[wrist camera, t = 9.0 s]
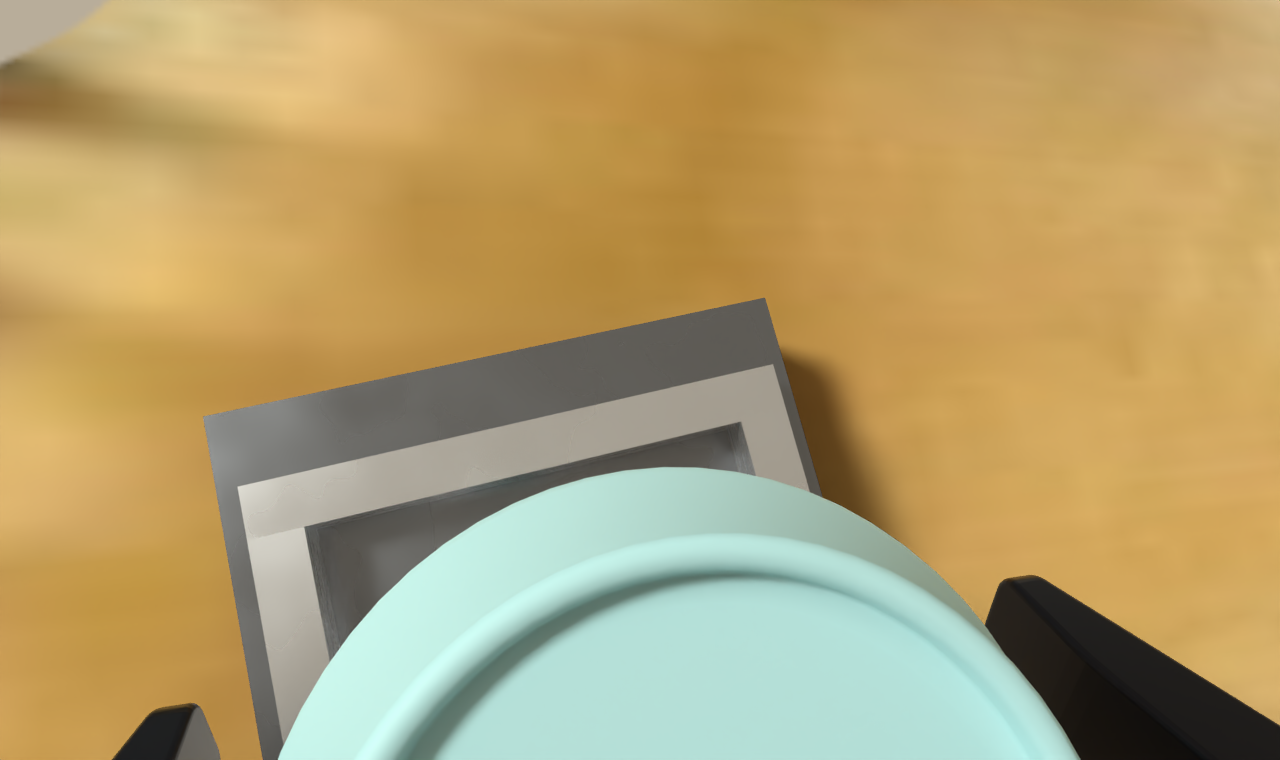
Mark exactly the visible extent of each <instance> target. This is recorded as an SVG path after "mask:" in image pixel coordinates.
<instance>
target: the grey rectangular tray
mask: <svg viewBox="0 0 1280 760" xmlns="http://www.w3.org/2000/svg"><path fill="white" fill-rule="evenodd" d="M203 418H204V424H205V430H206V435H207V441H208V447H209V453H210V458H211V464H212V470H213V476H214V481H215V487H216V493H217V499H218V504H219V510H220V516H221V522H222V527H223V533H224V539H225V545H226V550H227V556H228V562H229V568H230V573H231V579H232V585H233V591H234V596H235V602H236V608H237V614H238V619H239V625H240V631H241V637H242V642H243V648H244V654H245V660H246V665H247V671H248V677H249V683H250V688H251V694H252V700H253V706H254V711H255V717H256V723H257V729H258V734H259V740H260V746H261V752H262V757H263V760H278V758H279V755H280V752H281V750H282V748H283V746H284V744H285V742H286V740H287V738H288V735H289V733H290V731H291V729H292V727H293V725H294V723H295V721H296V719H297V717H298V714H299V712H300V710H301V708H302V707H303V705H304V703H305V702H306V700H307V698H308V697H309V695H310V693H311V692H312V690H313V688H314V686H315V685H316V683H317V681H318V680H319V678H320V676H321V675H322V673H323V671H324V670H325V668H326V667H327V665H328V664H329V663H330V661H331V660H332V659H333V657H334V656H335V654H336V653H337V652H338V650H339V649H340V647H341V646H342V645H343V643H344V642H345V640H346V639H347V638H348V636H349V635H350V634H351V632H352V631H353V630H354V629H355V628H356V627H357V625H358V624H359V623H360V622H361V621H362V620H363V619H364V617H365V616H366V615H367V614H368V613H369V612H370V611H371V609H372V608H373V607H374V606H375V605H376V604H377V602H378V601H379V600H380V599H381V598H382V597H383V596H384V595H385V594H386V593H388V592H389V591H390V590H391V589H392V588H393V587H394V586H395V585H396V584H397V583H398V582H399V581H400V580H401V579H402V578H403V577H404V576H405V575H406V574H407V573H408V572H409V571H411V570H412V569H413V568H414V567H416V566H417V565H418V564H419V563H421V562H422V561H423V560H424V559H426V558H427V557H428V556H429V555H431V554H432V553H433V552H435V551H436V550H437V549H438V548H440V547H441V546H442V545H443V544H445V543H446V542H448V541H449V540H451V539H453V538H454V537H456V536H457V535H459V534H460V533H462V532H463V531H465V530H466V529H468V528H469V527H471V526H473V525H474V524H476V523H477V522H479V521H481V520H483V519H485V518H486V517H488V516H490V515H492V514H494V513H496V512H498V511H500V510H502V509H504V508H506V507H508V506H509V505H511V504H513V503H516V502H518V501H521V500H523V499H526V498H528V497H530V496H533V495H535V494H538V493H540V492H543V491H545V490H548V489H550V488H554V487H557V486H561V485H564V484H567V483H571V482H574V481H578V480H581V479H584V478H588V477H593V476H598V475H604V474H609V473H614V472H619V471H625V470H636V469H647V468H658V467H691V468H707V469H716V470H725V471H734V472H739V473H744V474H749V475H753V476H758V477H763V478H767V479H772V480H775V481H778V482H781V483H784V484H787V485H790V486H794V487H797V488H800V489H803V490H806V491H808V492H811V493H813V494H815V495H818V496H820V497H822V493H821V490H820V486H819V483H818V479H817V476H816V473H815V469H814V466H813V462H812V459H811V455H810V452H809V448H808V445H807V441H806V438H805V435H804V431H803V428H802V424H801V421H800V417H799V414H798V410H797V407H796V404H795V400H794V397H793V393H792V390H791V386H790V383H789V379H788V376H787V372H786V369H785V366H784V362H783V359H782V355H781V352H780V348H779V345H778V341H777V338H776V335H775V331H774V328H773V324H772V321H771V317H770V314H769V310H768V307H767V303H766V300H765V298H761V299H757V300H752V301H747V302H742V303H738V304H733V305H728V306H724V307H719V308H714V309H709V310H705V311H700V312H695V313H690V314H686V315H681V316H676V317H672V318H667V319H662V320H657V321H653V322H648V323H643V324H639V325H634V326H629V327H624V328H620V329H615V330H610V331H605V332H601V333H596V334H591V335H587V336H582V337H577V338H572V339H568V340H563V341H558V342H553V343H549V344H544V345H539V346H535V347H530V348H525V349H520V350H516V351H511V352H506V353H502V354H497V355H492V356H487V357H483V358H478V359H473V360H468V361H464V362H459V363H454V364H450V365H445V366H440V367H435V368H431V369H426V370H421V371H416V372H412V373H407V374H402V375H398V376H393V377H388V378H383V379H379V380H374V381H369V382H365V383H360V384H355V385H350V386H346V387H341V388H336V389H331V390H327V391H322V392H317V393H313V394H308V395H303V396H298V397H294V398H289V399H284V400H279V401H275V402H270V403H265V404H261V405H256V406H251V407H246V408H242V409H237V410H232V411H227V412H223V413H218V414H213V415H209V416H204V417H203ZM822 498H823V497H822Z"/></svg>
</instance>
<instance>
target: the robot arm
mask: <svg viewBox="0 0 1280 760" xmlns="http://www.w3.org/2000/svg"><path fill="white" fill-rule="evenodd" d="M985 626H986V628H987V629H988V630H989V632H990V633H991V635H992V636H993V638H994V639H995V641H996V642H997V644H998V645H999V646H1000V648H1001V649H1002V651H1003V652H1004V654H1005V655H1006V656H1007V657H1008V658H1009V659H1010V660H1011V661H1012V662H1013V663H1014V664H1015V666H1016V667H1017V668H1018V669H1019V670H1020V672H1021V673H1022V674H1023V675H1024V676H1025V678H1026V679H1027V680H1028V681H1029V683H1030V684H1031V685H1032V686H1033V687H1034V689H1035V690H1036V691H1037V692H1038V693H1039V695H1040V696H1041V697H1042V699H1043V700H1044V702H1045V703H1046V705H1047V706H1048V708H1049V709H1050V711H1051V712H1052V713H1053V715H1054V716H1055V718H1056V719H1057V721H1058V722H1059V724H1060V725H1061V727H1062V728H1063V730H1064V731H1065V733H1066V735H1067V737H1068V738H1069V740H1070V742H1071V744H1072V745H1073V747H1074V749H1075V751H1076V753H1077V754H1078V756H1079V758H1080V760H1280V725H1278V724H1277V723H1275V722H1273V721H1272V720H1270V719H1269V718H1267V717H1265V716H1264V715H1262V714H1260V713H1259V712H1257V711H1256V710H1254V709H1252V708H1251V707H1249V706H1248V705H1246V704H1244V703H1243V702H1241V701H1240V700H1238V699H1236V698H1235V697H1233V696H1232V695H1230V694H1228V693H1227V692H1225V691H1223V690H1222V689H1220V688H1219V687H1217V686H1215V685H1214V684H1212V683H1211V682H1209V681H1207V680H1206V679H1204V678H1203V677H1201V676H1199V675H1198V674H1196V673H1194V672H1193V671H1191V670H1190V669H1188V668H1186V667H1185V666H1183V665H1182V664H1180V663H1178V662H1177V661H1175V660H1174V659H1172V658H1170V657H1169V656H1167V655H1165V654H1164V653H1162V652H1161V651H1159V650H1157V649H1156V648H1154V647H1153V646H1151V645H1149V644H1148V643H1146V642H1145V641H1143V640H1141V639H1140V638H1138V637H1136V636H1135V635H1133V634H1132V633H1130V632H1128V631H1127V630H1125V629H1124V628H1122V627H1120V626H1119V625H1117V624H1116V623H1114V622H1112V621H1111V620H1109V619H1107V618H1106V617H1104V616H1103V615H1101V614H1099V613H1098V612H1096V611H1095V610H1093V609H1091V608H1090V607H1088V606H1087V605H1085V604H1083V603H1082V602H1080V601H1079V600H1077V599H1075V598H1074V597H1072V596H1070V595H1069V594H1067V593H1066V592H1064V591H1062V590H1061V589H1059V588H1058V587H1056V586H1054V585H1053V584H1051V583H1050V582H1048V581H1046V580H1045V579H1043V578H1041V577H1038V576H1035V575H1026V576H1020V577H1013V578H1007V579H1004V580H1003V581H1002V582H1001V583H1000V584H999V586H998V588H997V591H996V594H995V597H994V600H993V603H992V605H991V608H990V611H989V614H988V617H987V620H986V623H985ZM112 760H220V754H219V750H218V747H217V744H216V742H215V740H214V737H213V735H212V733H211V730H210V728H209V725H208V723H207V721H206V718H205V716H204V713H203V711H202V710H201V708H200V707H199V706H198V705H197V704H195V703H188V704H181V705H175V706H168V707H162V708H158V709H156V710H154V711H152V712H151V713H150V714H149V715H148V716H147V717H146V718H145V719H144V720H143V722H142V723H141V724H140V725H139V727H138V728H137V729H136V730H135V732H134V733H133V734H132V735H131V736H130V738H129V739H128V740H127V741H126V743H125V744H124V745H123V746H122V748H121V749H120V750H119V751H118V753H117V754H116V755H115V756H114V758H113V759H112Z"/></svg>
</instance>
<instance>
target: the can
mask: <svg viewBox="0 0 1280 760" xmlns="http://www.w3.org/2000/svg"><path fill="white" fill-rule="evenodd" d="M278 760H1080V758H1079V756H1078V754H1077V753H1076V751H1075V749H1074V747H1073V745H1072V744H1071V742H1070V740H1069V738H1068V737H1067V735H1066V733H1065V731H1064V730H1063V728H1062V727H1061V725H1060V724H1059V722H1058V721H1057V719H1056V718H1055V716H1054V715H1053V713H1052V712H1051V711H1050V709H1049V708H1048V706H1047V705H1046V703H1045V702H1044V700H1043V699H1042V697H1041V696H1040V695H1039V693H1038V692H1037V691H1036V690H1035V689H1034V687H1033V686H1032V685H1031V684H1030V683H1029V681H1028V680H1027V679H1026V678H1025V676H1024V675H1023V674H1022V673H1021V672H1020V670H1019V669H1018V668H1017V667H1016V666H1015V664H1014V663H1013V662H1012V661H1011V660H1010V659H1009V658H1008V657H1007V656H1006V655H1005V654H1004V652H1003V651H1002V649H1001V648H1000V646H999V645H998V644H997V642H996V641H995V639H994V638H993V636H992V635H991V633H990V632H989V630H988V629H987V628H986V626H985V625H984V624H983V623H982V622H981V620H980V619H979V618H978V617H977V616H976V614H975V613H974V612H973V611H972V610H971V608H970V607H969V606H968V605H967V603H966V602H965V601H964V600H963V599H962V598H961V597H960V596H959V595H958V594H957V593H956V592H955V591H954V590H953V589H952V588H951V587H950V586H949V585H948V583H947V582H946V581H945V580H944V579H943V578H942V577H941V576H940V575H939V574H938V573H937V572H936V571H934V570H933V569H932V568H931V567H930V566H928V565H927V564H926V563H925V562H924V561H922V560H921V559H920V558H919V557H918V556H916V555H915V554H914V553H913V552H912V551H910V550H909V549H908V548H907V547H905V546H904V545H903V544H902V543H900V542H899V541H897V540H896V539H894V538H893V537H891V536H890V535H888V534H887V533H886V532H884V531H883V530H881V529H880V528H878V527H877V526H875V525H874V524H872V523H871V522H869V521H867V520H866V519H864V518H862V517H860V516H858V515H857V514H855V513H853V512H851V511H849V510H847V509H846V508H844V507H842V506H840V505H838V504H836V503H834V502H831V501H829V500H827V499H824V498H822V497H820V496H818V495H815V494H813V493H811V492H808V491H806V490H803V489H800V488H797V487H794V486H790V485H787V484H784V483H781V482H778V481H775V480H772V479H767V478H763V477H758V476H753V475H749V474H744V473H739V472H734V471H725V470H716V469H707V468H691V467H658V468H647V469H636V470H625V471H619V472H614V473H609V474H604V475H598V476H593V477H588V478H584V479H581V480H578V481H574V482H571V483H567V484H564V485H561V486H557V487H554V488H550V489H548V490H545V491H543V492H540V493H538V494H535V495H533V496H530V497H528V498H526V499H523V500H521V501H518V502H516V503H513V504H511V505H509V506H508V507H506V508H504V509H502V510H500V511H498V512H496V513H494V514H492V515H490V516H488V517H486V518H485V519H483V520H481V521H479V522H477V523H476V524H474V525H473V526H471V527H469V528H468V529H466V530H465V531H463V532H462V533H460V534H459V535H457V536H456V537H454V538H453V539H451V540H449V541H448V542H446V543H445V544H443V545H442V546H441V547H440V548H438V549H437V550H436V551H435V552H433V553H432V554H431V555H429V556H428V557H427V558H426V559H424V560H423V561H422V562H421V563H419V564H418V565H417V566H416V567H414V568H413V569H412V570H411V571H409V572H408V573H407V574H406V575H405V576H404V577H403V578H402V579H401V580H400V581H399V582H398V583H397V584H396V585H395V586H394V587H393V588H392V589H391V590H390V591H389V592H388V593H386V594H385V595H384V596H383V597H382V598H381V599H380V600H379V601H378V602H377V604H376V605H375V606H374V607H373V608H372V609H371V611H370V612H369V613H368V614H367V615H366V616H365V617H364V619H363V620H362V621H361V622H360V623H359V624H358V625H357V627H356V628H355V629H354V630H353V631H352V632H351V634H350V635H349V636H348V638H347V639H346V640H345V642H344V643H343V645H342V646H341V647H340V649H339V650H338V652H337V653H336V654H335V656H334V657H333V659H332V660H331V661H330V663H329V664H328V665H327V667H326V668H325V670H324V671H323V673H322V675H321V676H320V678H319V680H318V681H317V683H316V685H315V686H314V688H313V690H312V692H311V693H310V695H309V697H308V698H307V700H306V702H305V703H304V705H303V707H302V708H301V710H300V712H299V714H298V717H297V719H296V721H295V723H294V725H293V727H292V729H291V731H290V733H289V735H288V738H287V740H286V742H285V744H284V746H283V748H282V750H281V752H280V755H279V758H278Z"/></svg>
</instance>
